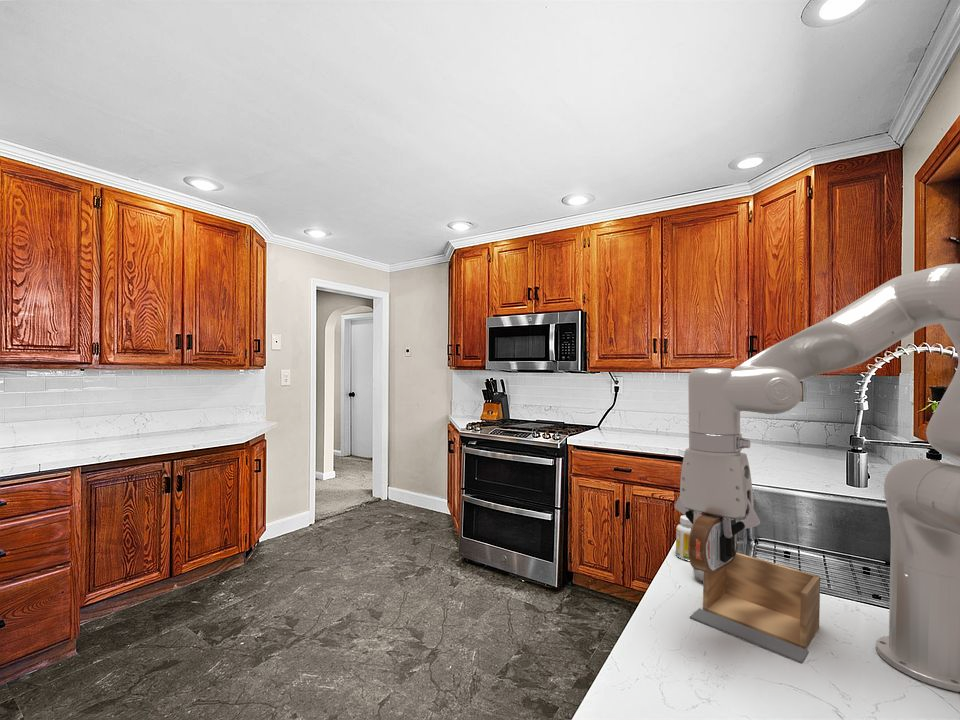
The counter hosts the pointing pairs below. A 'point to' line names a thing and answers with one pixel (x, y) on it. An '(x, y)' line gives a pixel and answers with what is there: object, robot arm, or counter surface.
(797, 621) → the cabinet carcass
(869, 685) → the counter surface
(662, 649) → the counter surface
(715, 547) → the tin
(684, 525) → the supplement bottle
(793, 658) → the flat grey bar
